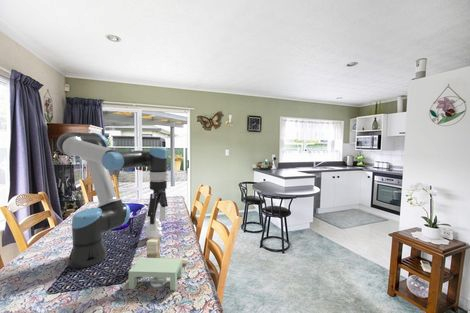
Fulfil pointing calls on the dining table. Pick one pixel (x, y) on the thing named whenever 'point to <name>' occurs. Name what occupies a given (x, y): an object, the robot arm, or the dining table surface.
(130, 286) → the footstool
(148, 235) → the figurine
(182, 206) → the dining table surface
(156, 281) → the token
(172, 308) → the dining table surface
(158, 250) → the pusher
